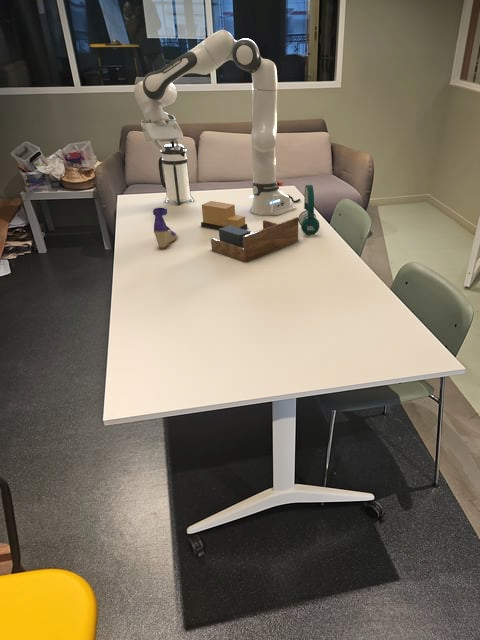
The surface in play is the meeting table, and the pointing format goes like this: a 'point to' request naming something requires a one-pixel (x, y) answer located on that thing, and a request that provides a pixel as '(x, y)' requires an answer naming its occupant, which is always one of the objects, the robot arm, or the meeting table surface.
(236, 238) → the dark grey block
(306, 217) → the headphones
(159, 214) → the purple and beige piece
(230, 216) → the tan stepped block
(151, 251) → the meeting table surface
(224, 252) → the wooden corner tray
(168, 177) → the coffee press
